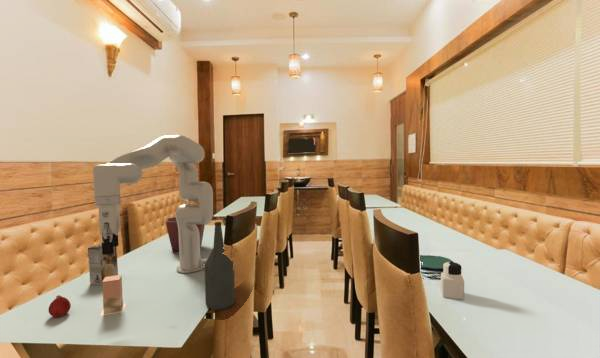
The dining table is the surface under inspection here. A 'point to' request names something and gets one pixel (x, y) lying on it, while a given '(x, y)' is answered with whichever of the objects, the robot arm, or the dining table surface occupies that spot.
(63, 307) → the onion
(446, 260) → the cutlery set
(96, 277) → the coffee box
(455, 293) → the medicine bottle
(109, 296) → the terracotta block
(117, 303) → the pale oak block
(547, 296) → the dining table surface
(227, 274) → the bottle
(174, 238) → the bucket
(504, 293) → the dining table surface
